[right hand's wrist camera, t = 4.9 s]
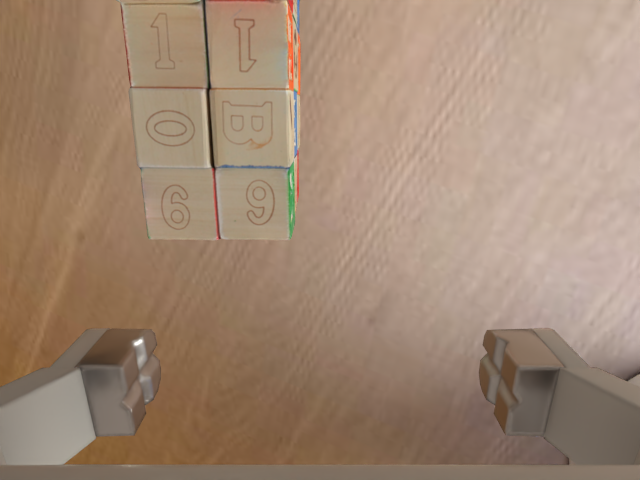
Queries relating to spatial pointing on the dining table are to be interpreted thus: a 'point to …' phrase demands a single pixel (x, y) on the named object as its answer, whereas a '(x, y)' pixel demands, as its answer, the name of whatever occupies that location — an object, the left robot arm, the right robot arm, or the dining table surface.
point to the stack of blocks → (215, 115)
